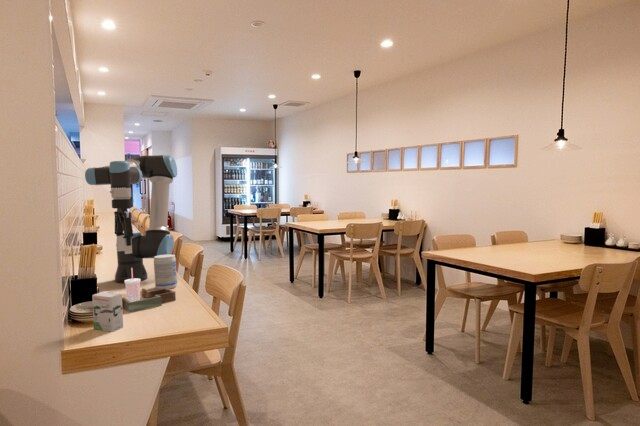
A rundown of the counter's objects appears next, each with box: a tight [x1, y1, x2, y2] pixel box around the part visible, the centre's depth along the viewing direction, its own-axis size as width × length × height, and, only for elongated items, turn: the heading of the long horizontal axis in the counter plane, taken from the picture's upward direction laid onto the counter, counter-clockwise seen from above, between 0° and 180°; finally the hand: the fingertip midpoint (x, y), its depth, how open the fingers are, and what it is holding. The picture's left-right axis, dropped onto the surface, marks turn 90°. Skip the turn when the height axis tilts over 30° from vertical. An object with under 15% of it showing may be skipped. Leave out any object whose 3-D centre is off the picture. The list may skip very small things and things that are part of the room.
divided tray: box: [122, 288, 177, 313], centre depth 172 cm, size 19×26×4 cm
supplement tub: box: [153, 253, 178, 290], centre depth 198 cm, size 10×10×15 cm
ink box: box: [92, 290, 124, 333], centre depth 143 cm, size 9×5×12 cm, turn 69°
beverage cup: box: [124, 268, 142, 302], centre depth 175 cm, size 6×6×14 cm
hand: (124, 252), depth 180 cm, fingers open, 9 cm apart
